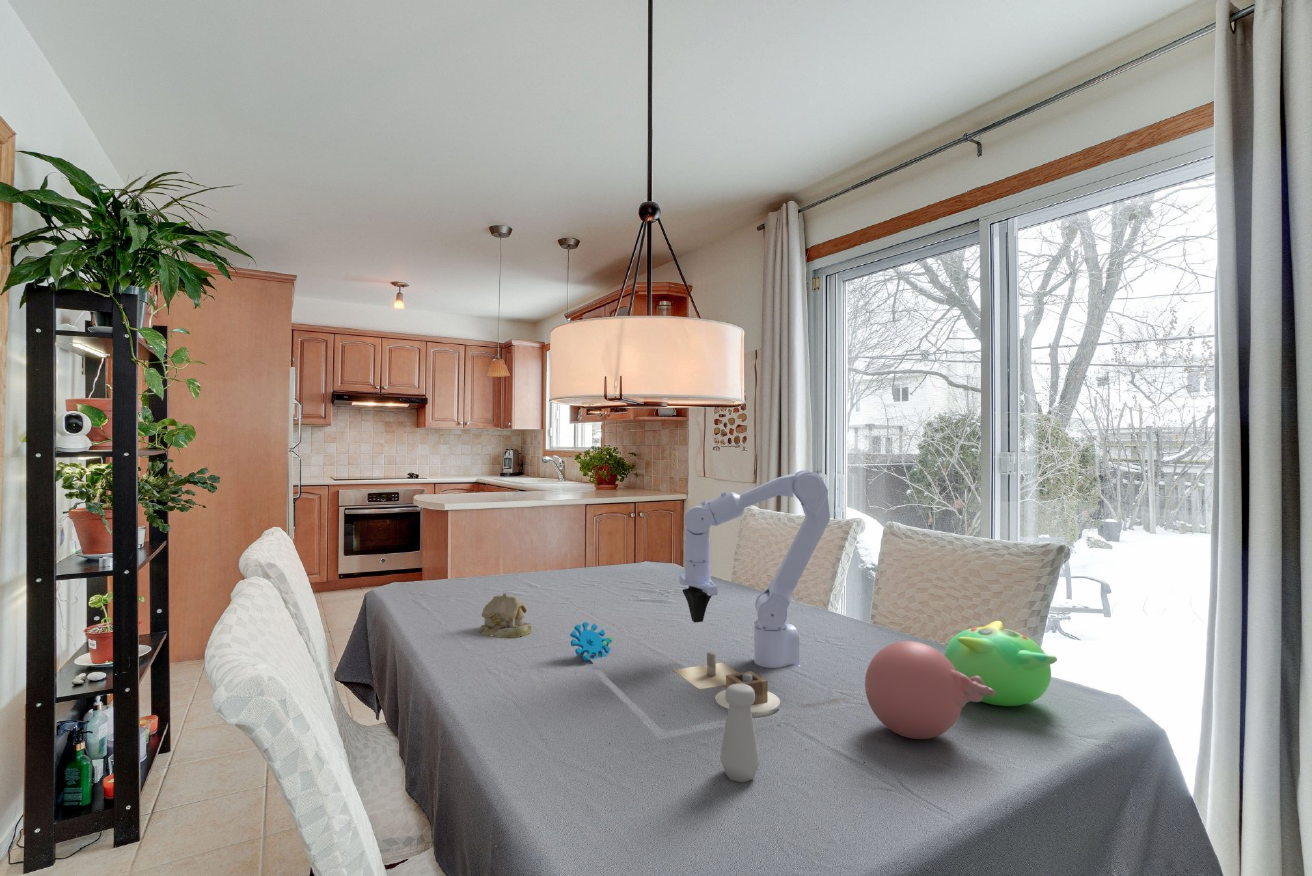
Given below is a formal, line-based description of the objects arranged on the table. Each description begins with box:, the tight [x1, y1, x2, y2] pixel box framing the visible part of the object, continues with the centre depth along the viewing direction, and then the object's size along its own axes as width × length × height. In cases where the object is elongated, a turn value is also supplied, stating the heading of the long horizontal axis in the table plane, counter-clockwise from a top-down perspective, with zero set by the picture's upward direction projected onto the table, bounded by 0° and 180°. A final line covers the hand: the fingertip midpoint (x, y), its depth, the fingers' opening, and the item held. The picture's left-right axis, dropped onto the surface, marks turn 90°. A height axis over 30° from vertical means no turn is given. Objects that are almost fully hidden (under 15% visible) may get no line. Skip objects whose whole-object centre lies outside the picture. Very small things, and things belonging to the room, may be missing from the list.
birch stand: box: [672, 651, 739, 690], centre depth 135 cm, size 12×12×6 cm
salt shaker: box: [719, 684, 761, 783], centre depth 96 cm, size 6×6×13 cm
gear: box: [569, 621, 614, 662], centre depth 149 cm, size 11×6×10 cm
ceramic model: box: [479, 592, 533, 638], centre depth 170 cm, size 14×11×10 cm
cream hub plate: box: [714, 673, 781, 719], centre depth 122 cm, size 12×12×6 cm
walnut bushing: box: [725, 670, 769, 706], centre depth 122 cm, size 6×6×4 cm
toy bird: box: [944, 620, 1058, 707], centre depth 123 cm, size 18×17×15 cm
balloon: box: [864, 640, 995, 740], centre depth 108 cm, size 15×20×15 cm
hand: (697, 621), depth 145 cm, fingers closed
